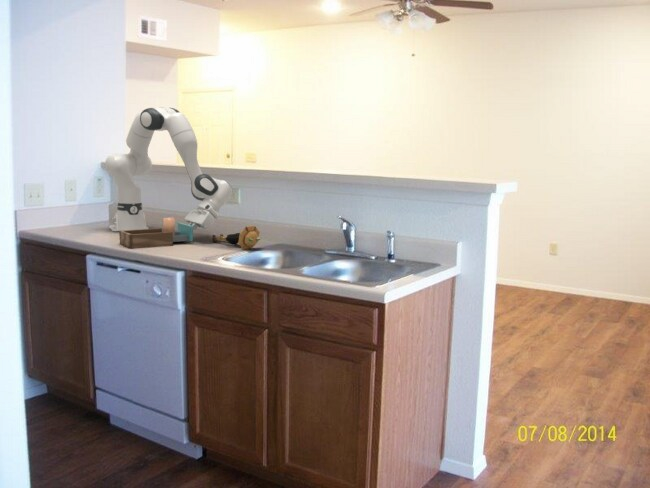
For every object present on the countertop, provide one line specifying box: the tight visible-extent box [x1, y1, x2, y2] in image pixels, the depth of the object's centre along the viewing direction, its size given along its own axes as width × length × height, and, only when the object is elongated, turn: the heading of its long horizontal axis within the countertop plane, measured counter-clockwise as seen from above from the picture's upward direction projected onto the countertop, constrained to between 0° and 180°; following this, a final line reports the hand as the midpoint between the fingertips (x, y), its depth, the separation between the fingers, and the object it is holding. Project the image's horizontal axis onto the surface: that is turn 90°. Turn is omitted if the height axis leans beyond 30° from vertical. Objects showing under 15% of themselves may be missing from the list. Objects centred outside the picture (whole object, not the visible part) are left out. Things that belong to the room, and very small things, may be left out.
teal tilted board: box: [173, 221, 194, 243], centre depth 283 cm, size 15×19×7 cm
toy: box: [212, 225, 261, 250], centre depth 281 cm, size 18×10×30 cm
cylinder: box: [162, 217, 176, 236], centre depth 284 cm, size 5×5×9 cm
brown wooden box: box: [118, 227, 174, 249], centre depth 278 cm, size 14×19×6 cm
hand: (187, 231), depth 289 cm, fingers closed
